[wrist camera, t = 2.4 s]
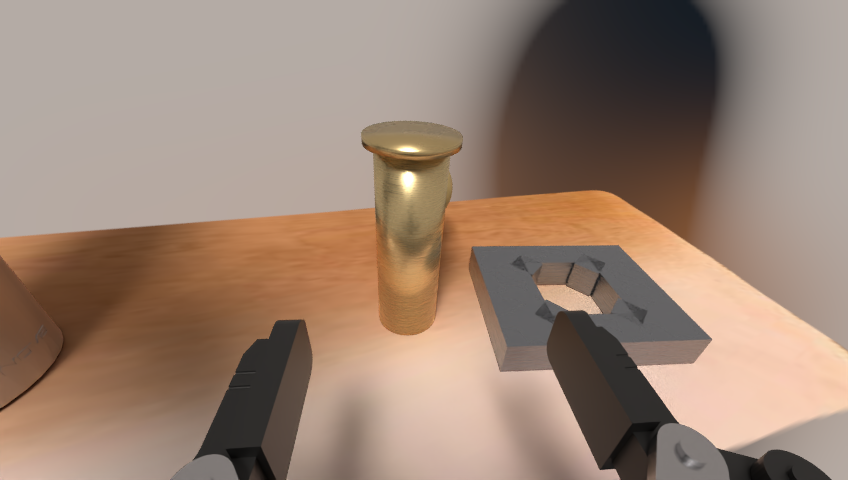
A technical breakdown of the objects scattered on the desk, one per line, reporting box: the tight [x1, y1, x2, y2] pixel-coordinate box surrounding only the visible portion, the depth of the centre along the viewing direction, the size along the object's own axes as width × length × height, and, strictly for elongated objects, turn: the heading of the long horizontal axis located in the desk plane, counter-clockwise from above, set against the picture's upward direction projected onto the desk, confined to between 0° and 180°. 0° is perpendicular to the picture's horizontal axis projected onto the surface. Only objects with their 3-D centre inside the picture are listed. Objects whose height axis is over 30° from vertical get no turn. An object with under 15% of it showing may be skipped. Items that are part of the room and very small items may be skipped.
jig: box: [469, 245, 712, 371], centre depth 27 cm, size 14×11×2 cm
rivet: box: [361, 121, 463, 335], centre depth 22 cm, size 6×6×14 cm
